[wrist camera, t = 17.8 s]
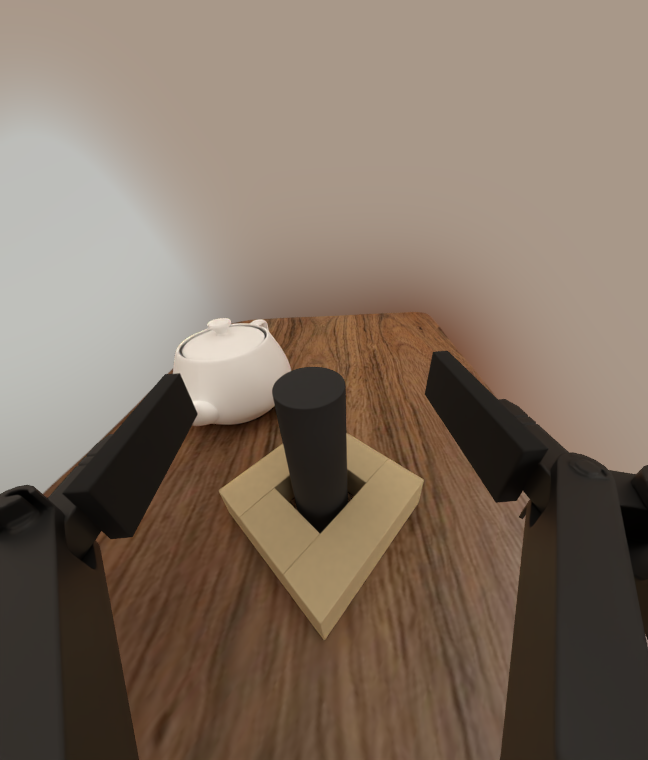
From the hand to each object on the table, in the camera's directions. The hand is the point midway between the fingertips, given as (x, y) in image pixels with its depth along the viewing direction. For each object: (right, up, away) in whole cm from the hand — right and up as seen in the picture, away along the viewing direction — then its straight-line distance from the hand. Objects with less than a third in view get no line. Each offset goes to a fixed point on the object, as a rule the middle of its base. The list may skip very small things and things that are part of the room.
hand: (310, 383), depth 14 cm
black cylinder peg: (+1, -10, +7) cm, 12 cm away
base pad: (+1, -10, +7) cm, 12 cm away
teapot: (-10, -3, +19) cm, 22 cm away
